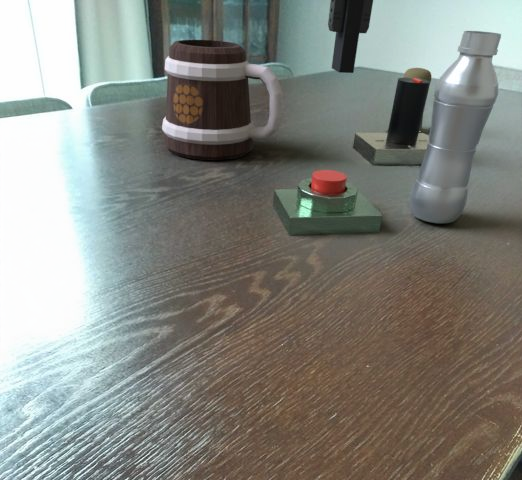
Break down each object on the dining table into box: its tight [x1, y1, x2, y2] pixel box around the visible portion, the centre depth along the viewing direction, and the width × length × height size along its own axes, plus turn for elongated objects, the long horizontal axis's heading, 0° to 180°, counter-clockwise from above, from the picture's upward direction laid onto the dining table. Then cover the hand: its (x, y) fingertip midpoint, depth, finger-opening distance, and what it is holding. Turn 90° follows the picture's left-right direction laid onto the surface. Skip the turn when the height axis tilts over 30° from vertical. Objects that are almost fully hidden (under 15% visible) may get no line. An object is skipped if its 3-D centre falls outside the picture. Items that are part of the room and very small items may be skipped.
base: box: [352, 132, 429, 166], centre depth 84 cm, size 13×10×3 cm
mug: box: [161, 39, 284, 161], centre depth 77 cm, size 20×15×15 cm
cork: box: [402, 67, 432, 133], centre depth 96 cm, size 6×6×11 cm
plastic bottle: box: [409, 30, 502, 224], centre depth 56 cm, size 6×7×20 cm
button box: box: [272, 177, 383, 236], centre depth 60 cm, size 11×9×4 cm
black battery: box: [386, 77, 431, 144], centre depth 80 cm, size 5×5×9 cm
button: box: [311, 169, 348, 194], centre depth 58 cm, size 4×4×2 cm
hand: (342, 70), depth 51 cm, fingers closed
